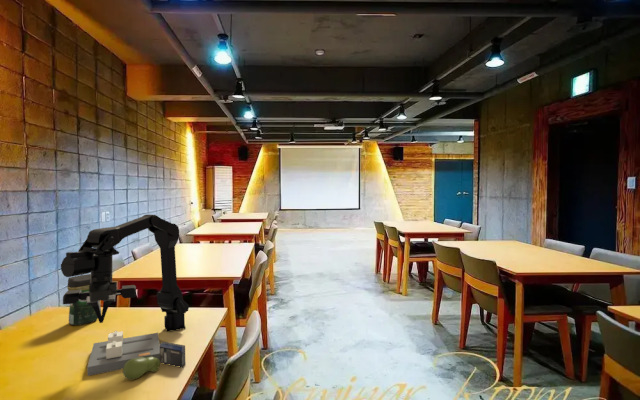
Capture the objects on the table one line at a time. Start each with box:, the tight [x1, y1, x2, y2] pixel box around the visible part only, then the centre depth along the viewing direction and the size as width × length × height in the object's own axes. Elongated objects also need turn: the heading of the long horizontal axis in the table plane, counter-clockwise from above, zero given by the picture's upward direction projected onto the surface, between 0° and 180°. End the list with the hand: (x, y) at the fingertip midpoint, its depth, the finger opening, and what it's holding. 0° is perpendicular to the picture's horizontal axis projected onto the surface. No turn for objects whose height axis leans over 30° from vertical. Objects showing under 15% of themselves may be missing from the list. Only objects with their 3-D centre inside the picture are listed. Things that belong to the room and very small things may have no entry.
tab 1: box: [107, 330, 124, 345], centre depth 119 cm, size 4×4×4 cm
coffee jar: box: [66, 273, 98, 326], centre depth 146 cm, size 10×8×19 cm
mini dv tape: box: [159, 341, 187, 368], centre depth 110 cm, size 8×2×6 cm, turn 69°
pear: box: [122, 357, 161, 381], centre depth 105 cm, size 6×5×10 cm
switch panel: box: [86, 332, 160, 377], centre depth 116 cm, size 19×18×3 cm
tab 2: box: [106, 341, 122, 359], centre depth 111 cm, size 4×4×4 cm
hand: (101, 322), depth 112 cm, fingers closed
